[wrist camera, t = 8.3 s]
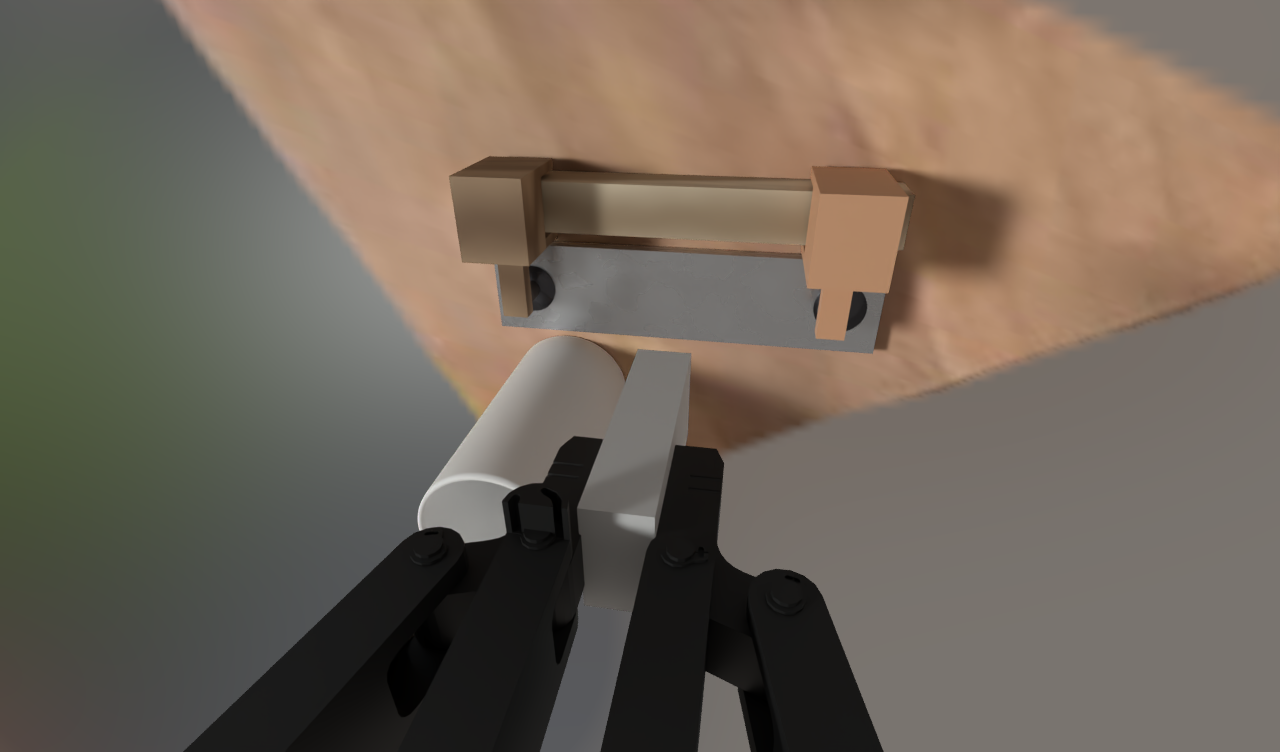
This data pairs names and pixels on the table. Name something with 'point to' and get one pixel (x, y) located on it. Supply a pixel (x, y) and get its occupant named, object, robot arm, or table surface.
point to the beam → (683, 206)
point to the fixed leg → (503, 222)
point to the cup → (523, 434)
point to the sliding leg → (850, 239)
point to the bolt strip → (687, 296)
